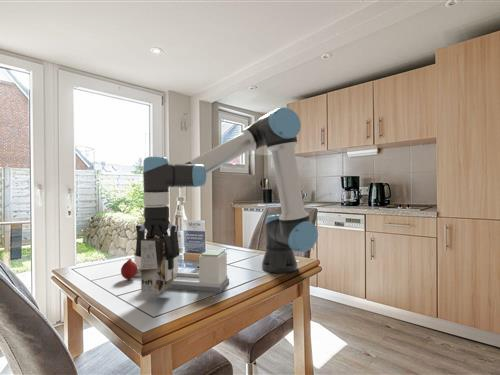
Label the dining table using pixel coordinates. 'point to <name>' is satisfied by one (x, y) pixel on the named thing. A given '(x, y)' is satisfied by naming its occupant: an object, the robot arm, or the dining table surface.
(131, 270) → the onion
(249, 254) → the dining table surface
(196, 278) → the white slotted block
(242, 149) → the robot arm
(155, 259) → the coffee box
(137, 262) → the lidded jar
